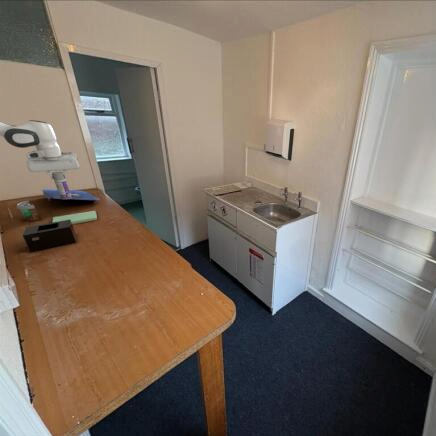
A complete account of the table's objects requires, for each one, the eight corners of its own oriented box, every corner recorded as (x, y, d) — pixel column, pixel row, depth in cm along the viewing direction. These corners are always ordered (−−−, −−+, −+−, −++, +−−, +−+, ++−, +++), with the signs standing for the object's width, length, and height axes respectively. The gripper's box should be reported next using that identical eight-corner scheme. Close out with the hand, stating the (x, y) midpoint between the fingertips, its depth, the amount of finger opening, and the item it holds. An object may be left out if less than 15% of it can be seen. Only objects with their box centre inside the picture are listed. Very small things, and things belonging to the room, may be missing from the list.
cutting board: (52, 227, 131) (51, 225, 131) (54, 219, 141) (53, 217, 140) (97, 219, 143) (96, 217, 143) (96, 212, 153) (95, 210, 152)
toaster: (30, 253, 107) (22, 236, 104) (33, 243, 116) (26, 226, 112) (76, 243, 117) (70, 227, 113) (76, 234, 125) (70, 219, 122)
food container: (20, 218, 140) (13, 202, 136) (35, 215, 145) (28, 200, 141) (25, 223, 134) (18, 207, 130) (40, 220, 139) (33, 204, 135)
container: (69, 196, 137) (60, 171, 131) (73, 197, 135) (64, 172, 129) (59, 198, 133) (49, 172, 127) (63, 200, 132) (53, 173, 126)
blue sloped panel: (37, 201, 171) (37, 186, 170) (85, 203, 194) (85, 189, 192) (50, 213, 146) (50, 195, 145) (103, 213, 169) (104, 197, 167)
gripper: (75, 151, 133) (83, 175, 138) (23, 153, 120) (34, 179, 126) (75, 152, 128) (83, 177, 134) (21, 154, 116) (32, 181, 121)
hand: (59, 178), depth 130 cm, fingers closed on container, 3 cm apart
